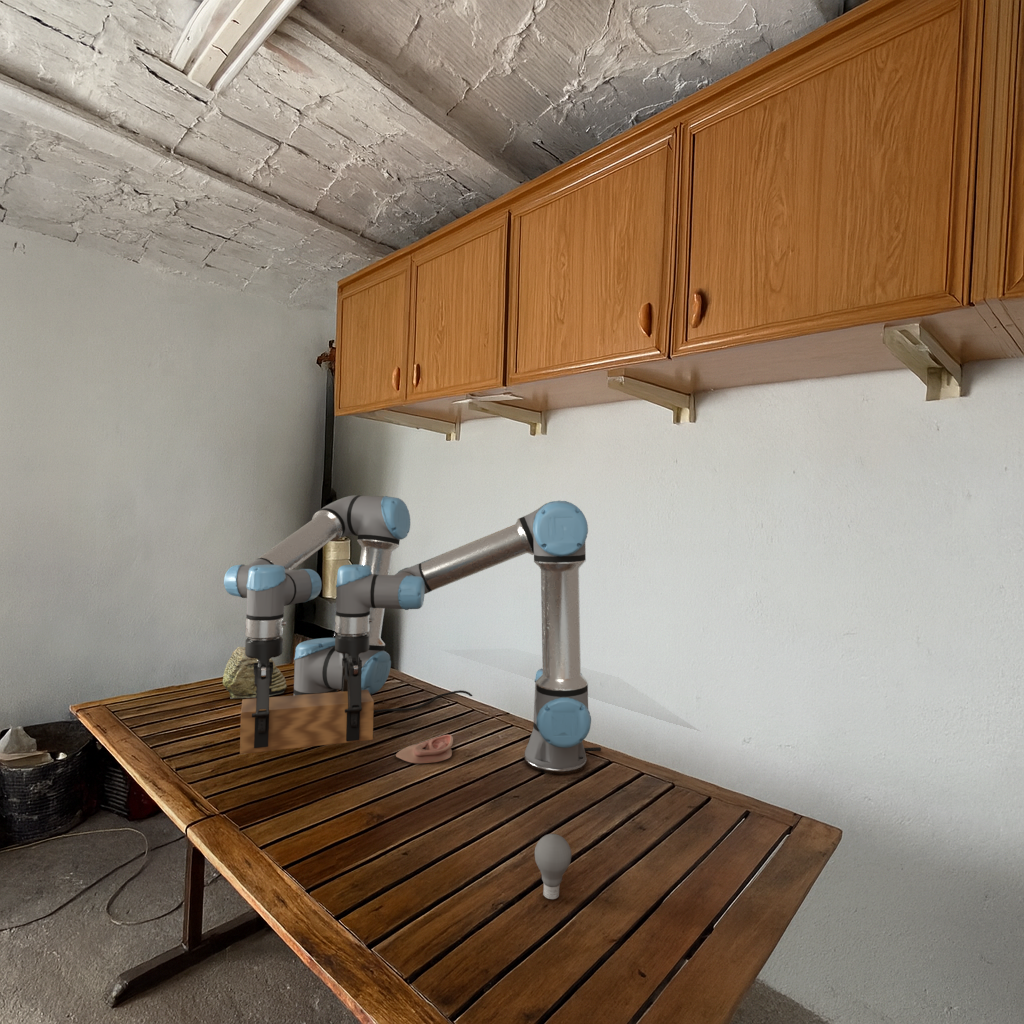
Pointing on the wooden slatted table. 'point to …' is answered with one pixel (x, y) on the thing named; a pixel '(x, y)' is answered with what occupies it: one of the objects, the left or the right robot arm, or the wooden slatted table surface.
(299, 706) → the box
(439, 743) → the anatomical model
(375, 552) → the left robot arm
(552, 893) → the light bulb
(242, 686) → the fossil
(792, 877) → the wooden slatted table surface
